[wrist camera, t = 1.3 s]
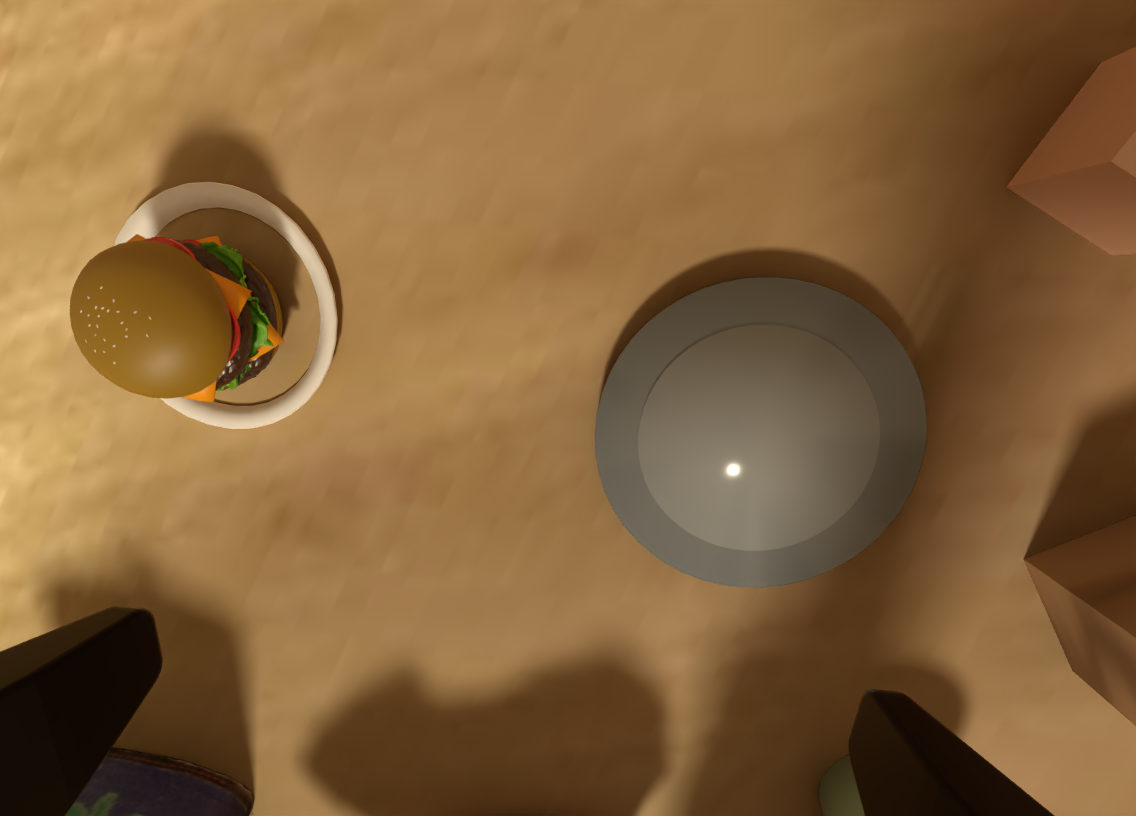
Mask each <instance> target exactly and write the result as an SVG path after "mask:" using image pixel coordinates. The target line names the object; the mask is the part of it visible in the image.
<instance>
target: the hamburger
mask: <svg viewBox="0 0 1136 816" xmlns="http://www.w3.org/2000/svg"><path fill="white" fill-rule="evenodd" d="M218 207H220V208H227V209H233V210H238V211H241V212H243V213H246V214H249V215H251V216H254V217H256V218H258V219H260V220H261V221H263V222H264V223H266V224H268V225H269V226H271V227H273V228H274V229H275V230H276V231H277V232H278V233H279V234H281V235H282V236H283V237H284V238H285V239H286V240H287V241H288V242H289V243H290V244H291V245H292V247H293V248H294V249H295V251H296V252H297V253H298V254H299V256H300V257H301V258H302V260H303V262H304V264H305V266H306V268H307V270H308V271H309V273H310V275H311V277H312V280H313V283H314V286H315V289H316V292H317V295H318V301H319V308H320V315H321V321H320V337H319V341H318V345H317V349H316V353H315V356H314V358H313V360H312V362H311V364H310V366H309V368H308V370H307V372H306V373H305V374H304V375H303V377H302V378H301V379H300V381H299V382H298V383H297V384H296V385H295V386H294V387H293V388H291V389H290V390H289V391H288V392H286V393H285V394H284V395H282V396H280V397H278V398H276V399H274V400H272V401H270V402H267V403H262V404H258V405H254V406H233V405H228V404H222V403H218V402H215V401H214V399H215V391H217V390H218V391H220V390H222V391H223V390H225V389H227V388H230V389H234V388H237V386H239V385H240V384H243V383H244V382H246V381H247V380H249V379H251V378H254V377H256V376H257V375H258V374H259V373H260V372H261V371H262V370H263V369H265V368H266V366H267V365H268V364H269V363H270V361H271V360H272V358H273V356H274V355H275V353H276V351H277V350H278V347H279V344H281V343H282V342H284V340H283V339H282V338H281V337H282V329H283V321H282V311H281V307H280V303H279V300H278V297H277V295H276V293H275V291H274V288H273V287H272V285H271V284H270V282H269V281H268V279H267V278H266V277H265V275H264V274H263V273H262V272H261V271H260V270H259V269H258V268H257V267H256V266H254V265H253V264H252V263H250V262H249V261H248V260H246V259H245V258H244V257H242V256H241V255H240V254H237V252H238V250H237V249H236V248H235V249H233V248H234V247H232V248H231V246H229V245H227V244H224V245H223V246H222V244H221V242H220V239H219V237H218V235H216V236H211V237H206V238H202V239H199V240H183V241H179V240H173V239H169V238H164V237H155V236H156V234H158V233H159V232H160V231H161V230H162V229H163V228H164V227H165V226H166V225H167V224H168V223H169V222H171V221H173V220H174V219H176V218H178V217H179V216H181V215H183V214H185V213H188V212H192V211H195V210H198V209H202V208H218ZM70 319H71V327H72V330H73V333H74V337H75V340H76V342H77V344H78V346H79V348H80V350H81V352H82V354H83V355H84V356H85V358H86V359H87V360H88V362H89V363H90V364H91V365H92V366H93V367H94V368H95V369H96V370H97V371H98V372H99V373H100V374H101V375H103V376H104V377H105V378H107V379H108V380H110V381H111V382H113V383H114V384H115V385H117V386H119V387H121V388H123V389H125V390H127V391H129V392H132V393H136V394H140V395H143V396H147V397H152V398H160V399H161V400H162V401H164V402H165V403H166V404H167V405H169V406H170V407H172V408H174V409H175V410H177V411H179V412H180V413H182V414H184V415H185V416H188V417H190V418H193V419H195V420H198V421H201V422H203V423H206V424H208V425H213V426H219V427H224V428H230V429H243V428H256V427H260V426H264V425H269V424H273V423H275V422H277V421H279V420H281V419H283V418H285V417H287V416H289V415H291V414H293V413H294V412H295V411H296V410H298V409H299V408H300V407H301V406H303V405H304V404H305V403H306V402H308V400H309V399H310V398H311V397H312V395H313V394H314V393H315V392H316V390H317V389H318V388H319V387H320V385H321V384H322V382H323V380H324V378H325V376H326V374H327V371H328V369H329V367H330V365H331V362H332V358H333V354H334V350H335V346H336V341H337V324H338V317H337V309H336V301H335V294H334V291H333V288H332V284H331V281H330V278H329V275H328V272H327V269H326V267H325V265H324V263H323V261H322V259H321V258H320V256H319V254H318V252H317V250H316V248H315V246H314V245H313V244H312V242H311V241H310V240H309V238H308V237H307V236H306V234H305V233H304V232H303V231H302V229H301V228H300V227H299V225H298V224H296V223H295V222H294V221H293V220H292V219H291V218H290V217H289V216H288V215H287V214H285V213H284V212H283V211H282V210H281V209H280V208H279V207H277V206H276V205H274V204H272V203H271V202H269V201H267V200H266V199H264V198H263V197H261V196H259V195H258V194H256V193H253V192H250V191H248V190H245V189H242V188H240V187H237V186H234V185H228V184H222V183H216V182H198V183H186V184H183V185H179V186H176V187H173V188H170V189H167V190H164V191H163V192H161V193H159V194H158V195H156V196H154V197H153V198H151V199H149V200H147V201H146V202H145V203H144V204H143V205H141V206H140V207H139V208H138V209H137V210H136V211H135V212H134V213H133V214H132V215H131V216H130V217H129V219H128V220H127V222H126V223H125V225H124V226H123V228H122V230H121V231H120V233H119V234H118V236H117V238H116V241H115V244H114V246H113V247H111V248H109V249H107V250H105V251H103V252H101V253H99V254H98V255H96V256H95V257H94V258H93V259H91V260H90V261H89V262H88V263H87V265H86V266H85V267H84V269H83V270H82V271H81V273H80V274H79V276H78V278H77V280H76V283H75V285H74V287H73V291H72V295H71V299H70Z"/></svg>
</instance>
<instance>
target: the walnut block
mask: <svg viewBox="0 0 1136 816" xmlns="http://www.w3.org/2000/svg"><path fill="white" fill-rule="evenodd" d="M1024 561H1025V564H1026V566H1027V568H1028V571H1029V573H1030V575H1031V577H1032V580H1033V582H1034V584H1035V587H1036V589H1037V591H1038V593H1039V596H1040V598H1041V600H1042V603H1043V605H1044V607H1045V609H1046V612H1047V614H1048V616H1049V618H1050V621H1051V623H1052V625H1053V628H1054V630H1055V632H1056V634H1057V637H1058V639H1059V641H1060V644H1061V646H1062V648H1063V650H1064V653H1065V655H1066V657H1067V660H1068V662H1069V664H1070V666H1071V669H1072V671H1074V672H1075V673H1076V674H1077V675H1078V676H1079V677H1080V678H1082V679H1083V680H1084V681H1085V682H1086V683H1087V684H1088V685H1090V686H1091V687H1092V688H1093V689H1094V690H1095V691H1096V692H1098V693H1099V694H1100V695H1101V696H1102V697H1103V698H1104V699H1106V700H1107V701H1108V702H1109V703H1110V704H1111V705H1112V706H1114V707H1115V708H1116V709H1117V710H1118V711H1119V712H1120V713H1122V714H1123V715H1124V716H1125V717H1126V718H1127V719H1128V720H1130V721H1131V722H1132V723H1133V724H1134V725H1135V726H1136V515H1135V516H1133V517H1130V518H1128V519H1125V520H1122V521H1120V522H1117V523H1115V524H1112V525H1110V526H1107V527H1104V528H1102V529H1099V530H1097V531H1094V532H1092V533H1089V534H1086V535H1084V536H1081V537H1079V538H1076V539H1074V540H1071V541H1068V542H1066V543H1063V544H1061V545H1058V546H1056V547H1053V548H1050V549H1048V550H1045V551H1043V552H1040V553H1038V554H1035V555H1032V556H1030V557H1027V558H1025V559H1024Z"/></svg>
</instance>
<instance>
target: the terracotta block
mask: <svg viewBox="0 0 1136 816" xmlns="http://www.w3.org/2000/svg"><path fill="white" fill-rule="evenodd" d="M1006 188H1008V189H1010V190H1011V191H1013V192H1014V193H1016V194H1017V195H1019V196H1020V197H1022V198H1023V199H1025V200H1027V201H1028V202H1030V203H1031V204H1033V205H1034V206H1036V207H1037V208H1039V209H1041V210H1042V211H1044V212H1045V213H1047V214H1048V215H1050V216H1051V217H1053V218H1054V219H1056V220H1058V221H1059V222H1061V223H1062V224H1064V225H1065V226H1067V227H1068V228H1070V229H1071V230H1073V231H1075V232H1076V233H1078V234H1079V235H1081V236H1082V237H1084V238H1085V239H1087V240H1088V241H1090V242H1092V243H1093V244H1095V245H1096V246H1098V247H1099V248H1101V249H1102V250H1104V251H1106V252H1107V253H1109V254H1110V255H1127V254H1136V47H1134V48H1132V49H1129V50H1127V51H1125V52H1123V53H1121V54H1119V55H1116V56H1114V57H1112V58H1110V59H1108V60H1105V61H1103V62H1101V63H1100V65H1099V66H1098V67H1097V69H1096V70H1095V71H1094V73H1093V74H1092V75H1091V76H1090V78H1089V79H1088V80H1087V82H1086V83H1085V84H1084V86H1083V87H1082V88H1081V90H1080V91H1079V92H1078V93H1077V95H1076V96H1075V97H1074V99H1073V100H1072V101H1071V103H1070V104H1069V105H1068V107H1067V108H1066V109H1065V110H1064V112H1063V113H1062V114H1061V116H1060V117H1059V118H1058V120H1057V121H1056V122H1055V124H1054V125H1053V126H1052V127H1051V129H1050V130H1049V131H1048V133H1047V134H1046V135H1045V137H1044V138H1043V139H1042V141H1041V142H1040V143H1039V145H1038V146H1037V147H1036V148H1035V150H1034V151H1033V152H1032V154H1031V155H1030V156H1029V158H1028V159H1027V160H1026V162H1025V163H1024V164H1023V165H1022V167H1021V168H1020V169H1019V171H1018V172H1017V173H1016V175H1015V176H1014V177H1013V179H1012V180H1011V181H1010V182H1009V184H1008V185H1007V186H1006Z"/></svg>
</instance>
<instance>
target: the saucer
mask: <svg viewBox="0 0 1136 816" xmlns="http://www.w3.org/2000/svg"><path fill="white" fill-rule="evenodd" d="M926 434H927V419H926V406H925V401H924V396H923V391H922V386H921V383H920V381H919V378H918V375H917V372H916V370H915V367H914V365H913V363H912V361H911V360H910V358H909V356H908V354H907V352H906V350H905V348H904V347H903V346H902V344H901V343H900V342H899V340H898V339H897V338H896V336H895V335H894V334H893V332H892V331H891V330H890V329H889V328H888V327H887V326H886V325H885V324H884V323H883V322H882V321H881V320H880V319H879V318H878V317H877V316H876V315H874V314H873V313H872V312H870V311H869V310H868V309H866V308H865V307H863V306H862V305H861V304H859V303H858V302H856V301H854V300H852V299H851V298H849V297H847V296H845V295H843V294H841V293H839V292H837V291H835V290H832V289H829V288H826V287H824V286H821V285H818V284H815V283H810V282H806V281H801V280H796V279H788V278H776V277H760V278H742V279H737V280H731V281H725V282H721V283H717V284H714V285H711V286H708V287H705V288H701V289H699V290H697V291H695V292H692V293H690V294H688V295H686V296H684V297H682V298H680V299H678V300H677V301H675V302H673V303H672V304H670V305H669V306H667V307H665V308H664V309H662V310H661V311H660V312H658V313H657V314H656V315H655V316H654V317H652V318H651V319H650V320H649V321H647V322H646V323H645V324H644V325H643V326H642V327H641V328H640V330H639V331H638V332H637V333H636V334H635V335H634V336H633V337H632V338H631V339H630V341H629V342H628V343H627V345H626V346H625V348H624V349H623V350H622V352H621V353H620V354H619V356H618V358H617V360H616V362H615V363H614V365H613V367H612V369H611V371H610V373H609V375H608V378H607V381H606V383H605V386H604V388H603V391H602V395H601V399H600V404H599V408H598V412H597V419H596V429H595V450H596V459H597V465H598V471H599V475H600V478H601V481H602V485H603V488H604V491H605V493H606V495H607V497H608V500H609V502H610V504H611V506H612V508H613V510H614V511H615V513H616V514H617V516H618V517H619V519H620V521H621V522H622V524H623V525H624V526H625V528H626V529H627V530H628V531H629V532H630V533H631V535H632V536H633V537H634V538H635V539H636V540H637V541H638V542H639V543H640V544H641V545H642V546H643V547H645V548H646V549H647V550H648V551H649V552H650V553H652V554H653V555H654V556H656V557H657V558H659V559H660V560H662V561H663V562H664V563H666V564H668V565H670V566H672V567H673V568H675V569H677V570H679V571H681V572H683V573H685V574H688V575H691V576H693V577H696V578H699V579H701V580H705V581H709V582H713V583H717V584H721V585H728V586H736V587H771V586H780V585H786V584H790V583H795V582H799V581H803V580H806V579H809V578H812V577H815V576H818V575H821V574H823V573H825V572H827V571H829V570H831V569H834V568H836V567H838V566H840V565H842V564H843V563H845V562H846V561H848V560H849V559H851V558H853V557H854V556H856V555H857V554H859V553H860V552H861V551H863V550H864V549H865V548H866V547H867V546H869V545H870V544H871V543H872V542H874V541H875V540H876V539H877V538H878V537H879V536H880V535H881V534H882V532H883V531H884V530H885V529H886V528H887V527H888V526H889V525H890V524H891V522H892V521H893V520H894V518H895V517H896V516H897V514H898V513H899V512H900V510H901V509H902V507H903V506H904V504H905V502H906V500H907V498H908V497H909V495H910V493H911V491H912V489H913V487H914V484H915V482H916V479H917V477H918V474H919V472H920V468H921V464H922V460H923V456H924V452H925V444H926Z"/></svg>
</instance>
